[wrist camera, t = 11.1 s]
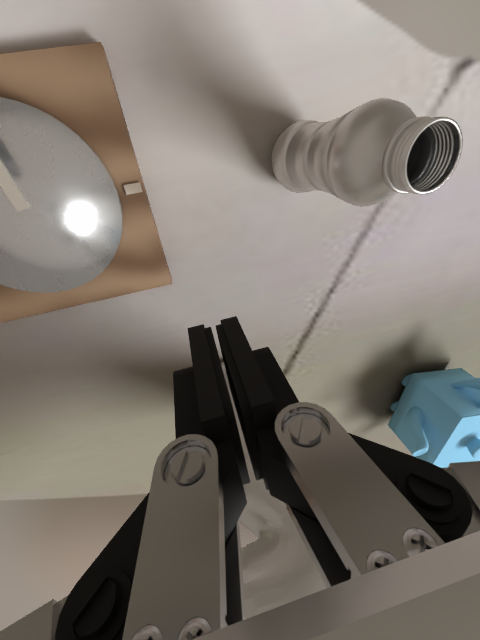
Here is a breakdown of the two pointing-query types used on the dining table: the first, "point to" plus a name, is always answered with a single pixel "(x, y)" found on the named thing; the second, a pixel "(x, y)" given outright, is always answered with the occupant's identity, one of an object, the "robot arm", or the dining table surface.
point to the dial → (52, 204)
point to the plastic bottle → (368, 153)
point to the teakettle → (439, 416)
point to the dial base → (114, 150)
